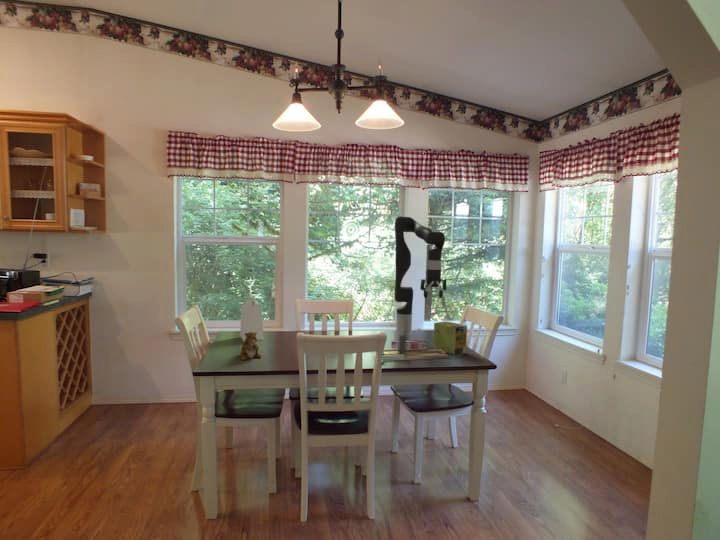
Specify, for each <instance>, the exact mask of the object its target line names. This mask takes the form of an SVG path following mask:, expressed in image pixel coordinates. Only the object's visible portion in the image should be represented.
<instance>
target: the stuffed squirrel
mask: <svg viewBox="0 0 720 540" xmlns="http://www.w3.org/2000/svg"><path fill="white" fill-rule="evenodd" d="M244 334H245V336H246V339H245V341H243V343H242V347H241V349H240V350H241V351H240V359H241V360H242V361H246V360H247V359H254V358H253V357H261V358H262V355H261V354H259V345H258V344H257V343H256V342H259V341H258V340H257V341H256V339H257V338H256V334H257V332H256V333H254V332H249V333H244Z"/></svg>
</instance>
